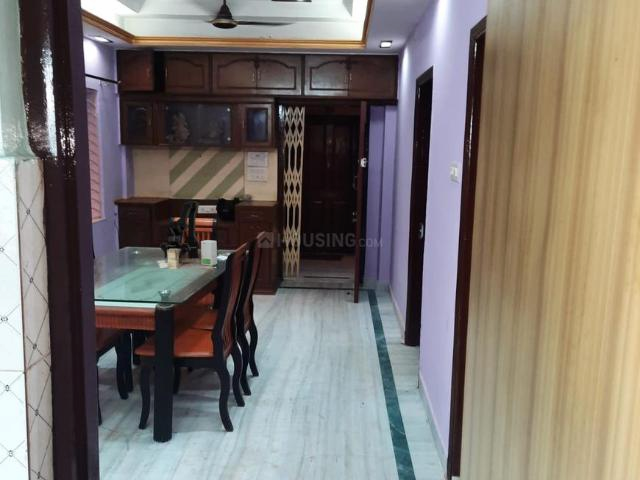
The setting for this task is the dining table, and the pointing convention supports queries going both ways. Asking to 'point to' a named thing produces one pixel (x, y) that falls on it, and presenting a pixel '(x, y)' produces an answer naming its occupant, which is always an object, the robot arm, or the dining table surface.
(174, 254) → the maple pillar block
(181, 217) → the robot arm
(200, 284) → the dining table surface
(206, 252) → the skincare box
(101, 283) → the dining table surface
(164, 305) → the dining table surface
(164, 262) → the off-white base block
